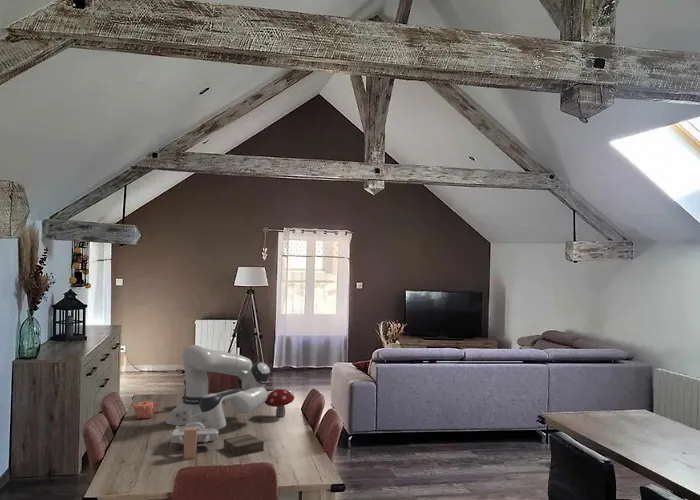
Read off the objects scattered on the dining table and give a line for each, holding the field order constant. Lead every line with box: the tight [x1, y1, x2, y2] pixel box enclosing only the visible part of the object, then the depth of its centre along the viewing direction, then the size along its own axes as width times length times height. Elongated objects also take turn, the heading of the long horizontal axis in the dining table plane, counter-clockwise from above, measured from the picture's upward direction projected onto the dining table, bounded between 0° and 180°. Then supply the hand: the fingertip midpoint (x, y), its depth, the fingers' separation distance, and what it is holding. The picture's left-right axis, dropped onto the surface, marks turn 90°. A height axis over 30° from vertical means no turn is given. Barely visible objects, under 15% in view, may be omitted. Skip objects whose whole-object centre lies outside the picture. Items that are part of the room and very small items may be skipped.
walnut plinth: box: [223, 433, 265, 457], centre depth 267 cm, size 13×13×4 cm
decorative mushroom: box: [264, 388, 295, 417], centre depth 320 cm, size 16×16×15 cm
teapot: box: [130, 400, 160, 419], centre depth 316 cm, size 12×15×8 cm
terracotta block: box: [183, 427, 198, 460], centre depth 256 cm, size 5×5×12 cm
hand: (193, 441), depth 259 cm, fingers open, 8 cm apart
